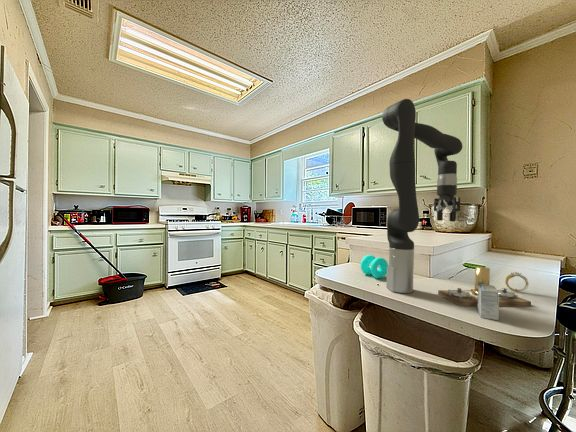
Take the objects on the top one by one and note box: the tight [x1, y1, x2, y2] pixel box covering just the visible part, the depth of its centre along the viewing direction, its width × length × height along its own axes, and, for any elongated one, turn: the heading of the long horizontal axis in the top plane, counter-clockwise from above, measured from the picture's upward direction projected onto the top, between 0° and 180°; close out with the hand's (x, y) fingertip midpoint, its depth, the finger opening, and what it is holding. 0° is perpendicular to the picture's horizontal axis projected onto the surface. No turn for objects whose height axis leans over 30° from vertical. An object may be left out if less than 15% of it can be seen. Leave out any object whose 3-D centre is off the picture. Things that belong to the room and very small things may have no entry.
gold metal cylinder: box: [470, 266, 491, 296], centre depth 92 cm, size 7×6×10 cm
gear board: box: [437, 289, 532, 307], centre depth 92 cm, size 25×12×2 cm, turn 92°
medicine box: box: [477, 284, 500, 321], centre depth 78 cm, size 8×4×9 cm, turn 148°
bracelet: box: [504, 271, 530, 293], centre depth 101 cm, size 7×3×8 cm, turn 56°
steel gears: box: [448, 287, 519, 299], centre depth 92 cm, size 24×7×3 cm, turn 92°
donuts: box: [360, 254, 389, 279], centre depth 123 cm, size 10×10×10 cm
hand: (445, 220), depth 112 cm, fingers open, 8 cm apart
